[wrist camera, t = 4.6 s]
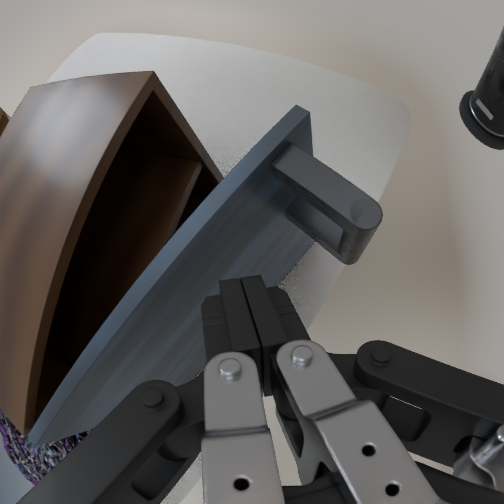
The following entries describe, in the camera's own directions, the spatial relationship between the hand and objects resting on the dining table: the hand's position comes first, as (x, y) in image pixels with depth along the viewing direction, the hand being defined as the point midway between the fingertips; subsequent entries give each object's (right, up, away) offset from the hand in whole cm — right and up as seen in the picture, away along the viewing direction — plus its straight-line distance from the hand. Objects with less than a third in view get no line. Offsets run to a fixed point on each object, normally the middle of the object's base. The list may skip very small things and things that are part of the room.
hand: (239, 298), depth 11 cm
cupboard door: (+1, -8, +24) cm, 25 cm away
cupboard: (-14, -1, +29) cm, 32 cm away
